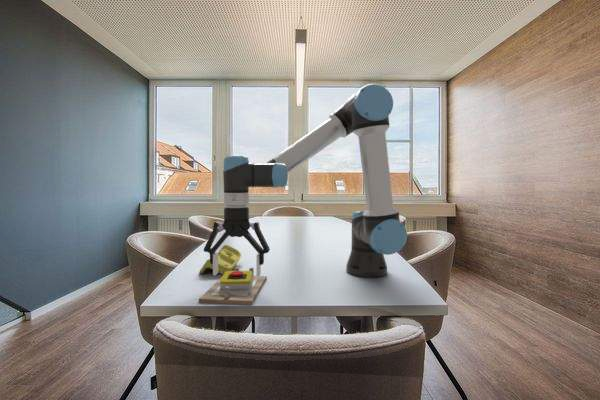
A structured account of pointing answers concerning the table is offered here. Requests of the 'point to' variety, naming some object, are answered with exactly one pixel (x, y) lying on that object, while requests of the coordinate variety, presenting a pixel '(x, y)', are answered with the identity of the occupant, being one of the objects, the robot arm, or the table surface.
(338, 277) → the table surface
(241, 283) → the emergency button
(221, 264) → the plastic component
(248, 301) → the nest plate
